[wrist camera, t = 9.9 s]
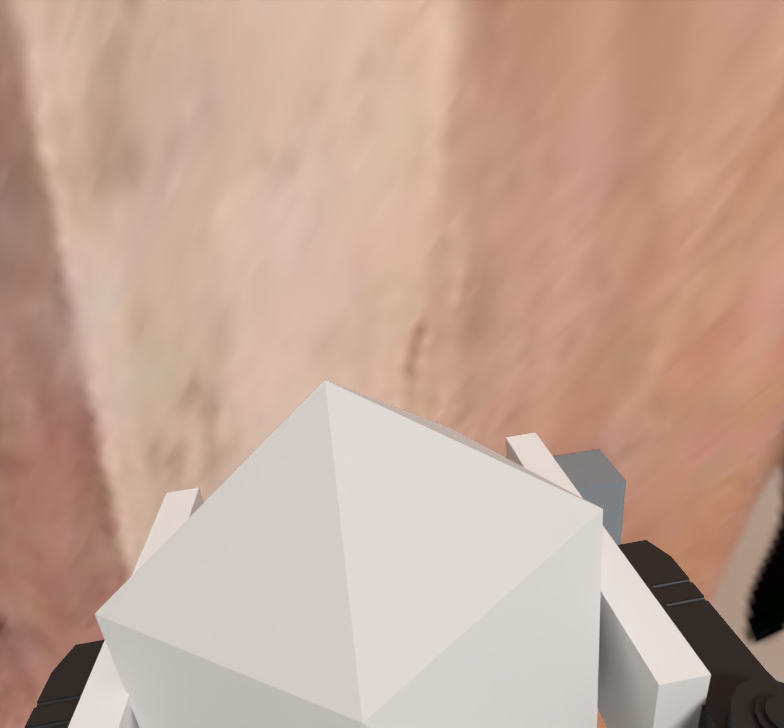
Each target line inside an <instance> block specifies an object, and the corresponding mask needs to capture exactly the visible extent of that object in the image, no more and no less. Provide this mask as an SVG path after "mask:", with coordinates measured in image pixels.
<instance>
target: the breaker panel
mask: <svg viewBox="0 0 784 728" xmlns="http://www.w3.org/2000/svg"><path fill="white" fill-rule="evenodd" d="M553 458H554V459H555V460H556V462H557V463H558V465H559V466H560V467H561V469H562V470H563V471H564V473H565V474H566V476H567V477H568V478H569V480H570V481H571V482H572V484H573V485H574V487H575V488H576V489H577V491H578V492H579V493H580V495H581V496H582V498H583V499H585V500H587V501H589V502H591V503H593V504H594V505H596V506H598V507H600V508H602V509H603V527H604V528H605V529H606V531H607V532H608V533H609V535H610V536H611V538H612V539H613V540H614V542H615V543H616V544H617V545H620V543H621V531H622V520H623V509H624V497H625V486H626V480H625V479H624V478H623V476H622V475H621V474H620V473H619V472H618V471H617V469H616V468H615V467H614V466H613V465H612V464H611V462H610V461H609V460H608V459H607V458H606V457H605V456H604V454H603V453H602V452H601V451H600V450H599V449H597V450H591V451H585V452H579V453H572V454H566V455H560V456H553Z"/></svg>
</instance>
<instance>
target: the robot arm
mask: <svg viewBox="0 0 784 728" xmlns="http://www.w3.org/2000/svg"><path fill="white" fill-rule="evenodd" d="M506 458H507V459H509V460H511V461H513V462H515V463H517V464H519V465H521V466H522V467H524V468H526V469H528V470H530V471H532V472H534V473H536V474H538V475H539V476H541V477H543V478H545V479H547V480H549V481H551V482H553V483H555V484H557V485H558V486H560V487H562V488H564V489H566V490H568V491H570V492H572V493H574V494H575V495H577V496H579V497H581V498H582V496H581V495H580V493H579V492H578V491H577V489H576V488H575V487H574V485H573V484H572V482H571V481H570V480H569V478H568V477H567V476H566V474H565V473H564V471H563V470H562V469H561V467H560V466H559V465H558V463H557V462H556V460H555V459H554V458H553V456H552V455H551V454H550V452H549V451H548V449H547V448H546V447H545V445H544V444H543V443H542V441H541V440H540V438H539V437H538V436H537V434H536V433H530V434H524V435H518V436H512V437H506ZM203 503H204V502H203V499H202V496H201V492H200V489H199V488H193V489H187V490H181V491H175V492H169V493H166V496H165V498H164V501H163V503H162V505H161V508H160V510H159V512H158V515H157V517H156V520H155V522H154V524H153V527H152V529H151V531H150V534H149V536H148V539H147V541H146V543H145V546H144V548H143V550H142V553H141V555H140V558H139V560H138V562H137V565H136V567H135V569H134V572H133V574H134V573H135V572H136V571H137V570H138V569H139V568H140V567H141V566H142V565H143V564H144V563H145V562H146V561H147V560H148V559H149V558H150V557H151V556H152V555H153V554H154V553H155V552H156V551H157V550H158V549H159V548H160V547H161V546H162V545H163V544H164V543H165V542H166V541H167V540H168V539H169V538H170V537H171V536H172V535H173V534H174V533H175V532H176V531H177V530H178V529H179V528H180V527H181V526H182V525H183V524H184V523H185V522H186V521H187V520H188V519H189V518H190V517H191V516H192V514H193V513H194V512H195V511H196V510H197V509H198V508H199V507H200V506H201V505H202V504H203ZM133 574H132V575H133ZM597 707H598V709H599V712H600V714H601V716H602V718H603V720H604V722H605V724H606V726H607V728H784V683H782V682H778V681H776V680H775V679H774V678H773V677H772V676H771V675H770V674H769V673H768V672H767V671H766V670H765V669H764V668H763V666H762V665H761V664H760V663H759V661H758V660H757V659H756V658H755V657H754V655H753V654H752V653H751V652H750V651H749V649H748V648H747V647H746V646H745V645H744V643H743V642H742V641H741V640H740V639H739V637H738V636H737V635H736V634H735V633H734V632H733V630H732V629H731V628H730V627H729V625H728V624H727V623H726V622H725V621H724V619H723V618H722V617H721V616H720V615H719V613H718V612H717V611H716V610H715V609H714V607H713V606H712V605H711V604H710V603H709V601H706V600H705V599H704V595H703V594H702V593H701V592H700V591H699V590H698V588H697V587H696V586H695V585H694V584H693V582H692V583H691V582H690V581H689V578H688V576H687V575H686V574H685V573H684V572H683V570H682V569H681V568H680V567H679V566H678V564H677V563H676V562H675V561H674V560H673V558H672V557H671V556H669V555H668V554H666V553H665V552H663V551H662V550H660V549H659V548H657V547H656V546H654V545H653V544H651V543H650V542H648V541H647V540H644V541H638V542H632V543H627V544H621V545H617V544H616V543H615V542H614V540H613V539H612V538H611V536H610V535H609V533H608V532H607V531H606V529H605V528H604V527H602V562H601V597H600V632H599V667H598V702H597ZM25 728H140V727H139V725H138V722H137V720H136V717H135V715H134V712H133V710H132V707H131V700H130V694H128V693H127V692H126V691H125V689H124V687H123V684H122V682H121V679H120V677H119V674H118V672H117V669H116V667H115V664H114V662H113V659H112V657H111V654H110V651H109V649H108V646H107V644H106V641H105V640H101V641H95V642H90V643H84V644H79V645H75V646H74V647H73V649H72V650H71V651H70V652H69V653H68V654H67V656H66V657H65V658H64V659H63V660H62V661H61V662H60V664H59V665H58V666H57V667H56V668H55V669H54V670H53V672H52V673H51V675H50V677H49V679H48V681H47V683H46V685H45V687H44V689H43V691H42V693H41V695H40V697H39V699H38V701H37V707H36V708H34V709H33V711H32V713H31V715H30V717H29V719H28V722H27V724H26V726H25Z"/></svg>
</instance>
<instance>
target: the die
mask: <svg viewBox="0 0 784 728" xmlns="http://www.w3.org/2000/svg"><path fill="white" fill-rule="evenodd" d="M602 527H603V509H602V508H600V507H598V506H596V505H594V504H593V503H591V502H589V501H587V500H585V499H583V498H581V497H579V496H577V495H575V494H574V493H572V492H570V491H568V490H566V489H564V488H562V487H560V486H558V485H557V484H555V483H553V482H551V481H549V480H547V479H545V478H543V477H541V476H539V475H538V474H536V473H534V472H532V471H530V470H528V469H526V468H524V467H522V466H521V465H519V464H517V463H515V462H513V461H511V460H509V459H507V458H505V457H503V456H502V455H500V454H498V453H496V452H494V451H492V450H490V449H488V448H486V447H485V446H483V445H481V444H479V443H477V442H475V441H473V440H471V439H469V438H467V437H466V436H464V435H462V434H460V433H458V432H456V431H454V430H452V429H450V428H448V427H445V426H443V425H440V424H437V423H435V422H432V421H430V420H427V419H425V418H422V417H419V416H417V415H414V414H412V413H409V412H406V411H404V410H401V409H399V408H396V407H393V406H391V405H388V404H386V403H383V402H381V401H378V400H375V399H373V398H370V397H368V396H365V395H362V394H360V393H357V392H355V391H352V390H349V389H347V388H344V387H342V386H339V385H337V384H334V383H331V382H329V381H326V380H324V381H323V382H322V383H321V384H320V385H319V387H318V388H317V389H316V390H315V391H314V392H313V393H312V394H311V395H310V396H309V397H308V398H307V399H306V400H305V401H304V402H303V403H302V404H301V405H300V406H299V407H298V408H297V409H296V410H295V411H294V412H293V413H292V414H291V415H290V416H289V417H288V418H287V419H286V420H285V421H284V422H283V423H282V424H281V425H280V426H279V427H278V428H277V429H276V430H275V431H274V432H273V433H272V434H271V435H270V436H269V437H268V438H267V439H266V440H265V441H264V442H263V443H262V444H261V445H260V446H259V447H258V448H257V449H256V450H255V452H254V453H253V454H252V455H251V456H250V457H249V458H248V459H247V460H246V461H245V462H244V463H243V464H242V465H241V466H240V467H239V468H238V469H237V470H236V471H235V472H234V473H233V474H232V475H231V476H230V477H229V478H228V479H227V480H226V481H225V482H224V483H223V484H222V485H221V486H220V487H219V488H218V489H217V490H216V491H215V492H214V493H213V494H212V495H211V496H210V497H209V498H208V499H207V500H206V501H205V502H204V503H203V504H202V505H201V506H200V507H199V508H198V509H197V510H196V511H195V512H194V513H193V514H192V516H191V517H190V518H189V519H188V520H187V521H186V522H185V523H184V524H183V525H182V526H181V527H180V528H179V529H178V530H177V531H176V532H175V533H174V534H173V535H172V536H171V537H170V538H169V539H168V540H167V541H166V542H165V543H164V544H163V545H162V546H161V547H160V548H159V549H158V550H157V551H156V552H155V553H154V554H153V555H152V556H151V557H150V558H149V559H148V560H147V561H146V562H145V563H144V564H143V565H142V566H141V567H140V568H139V569H138V570H137V571H136V572H135V573H134V574H133V575H132V576H131V577H130V578H129V579H128V581H127V582H126V583H125V584H124V585H123V586H122V587H121V588H120V589H119V590H118V591H117V592H116V593H115V594H114V595H113V596H112V597H111V598H110V599H109V600H108V601H107V602H106V603H105V604H104V605H103V606H102V607H101V608H100V609H99V610H98V611H97V612H96V613H95V616H96V619H97V621H98V624H99V626H100V629H101V631H102V634H103V636H104V639H105V641H106V644H107V646H108V649H109V651H110V654H111V657H112V659H113V662H114V664H115V667H116V669H117V672H118V674H119V677H120V679H121V682H122V684H123V687H124V689H125V691H126V692H127V693H128V694H130V700H131V707H132V710H133V712H134V715H135V717H136V720H137V722H138V725H139V727H140V728H597V702H598V667H599V632H600V597H601V562H602Z"/></svg>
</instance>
